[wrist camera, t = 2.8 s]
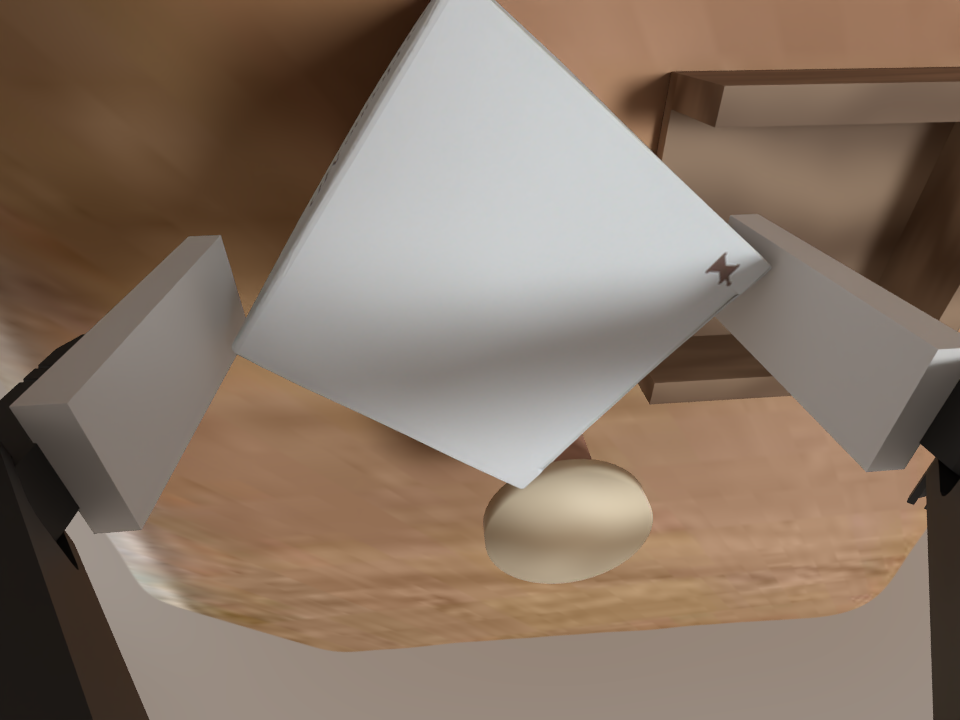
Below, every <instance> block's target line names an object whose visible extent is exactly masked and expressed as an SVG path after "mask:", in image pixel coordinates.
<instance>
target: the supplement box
mask: <svg viewBox="0 0 960 720" xmlns="http://www.w3.org/2000/svg"><path fill="white" fill-rule="evenodd" d="M771 269H772V266H771V265H770V264H769V263H768V262H767V260H766V259H765V258H764V257H763V256H762V255H760V254H759V253H758V252H757V251H756V250H755V249H754V248H753V247H752V246H751V245H750V244H749V243H748V242H746V241H745V240H744V239H743V238H742V237H741V236H740V235H739V234H738V233H737V232H736V231H735V230H734V229H733V228H731V227H730V226H729V225H728V224H727V223H726V222H725V221H724V220H723V219H722V218H721V217H720V216H719V215H718V214H717V213H716V212H714V211H713V210H712V209H711V208H710V207H709V206H708V205H707V204H706V203H705V202H704V201H703V200H702V199H701V198H700V197H699V196H698V195H697V194H696V193H695V192H694V191H693V190H691V189H690V188H689V187H688V186H687V185H686V184H685V183H684V182H683V181H682V180H681V179H680V178H679V177H678V176H677V175H676V174H675V173H674V172H673V171H672V170H671V169H670V168H669V167H668V166H667V165H666V164H665V163H664V162H663V161H661V160H660V159H659V158H658V157H657V156H656V155H655V154H654V153H653V152H652V151H651V150H650V149H649V148H648V147H647V146H646V145H645V144H644V143H643V142H642V141H641V140H640V139H639V138H638V137H637V136H636V135H635V134H634V133H633V132H632V131H631V130H630V129H629V128H628V127H627V126H626V125H625V124H624V123H623V122H622V121H621V120H620V119H619V118H618V117H617V116H616V115H615V114H614V113H613V112H612V111H611V110H610V109H609V108H608V107H607V106H606V105H605V104H604V103H603V102H602V101H601V100H599V99H598V98H597V97H596V96H595V95H594V94H593V93H592V92H591V91H590V90H589V89H588V88H587V87H586V86H585V85H584V84H583V83H582V82H581V81H580V80H579V79H578V78H577V77H576V76H575V75H574V74H573V73H572V72H571V71H570V70H569V69H568V68H567V67H566V66H565V65H564V64H563V63H562V62H561V61H560V60H559V59H558V58H556V57H555V56H554V55H553V54H552V53H551V52H550V51H549V50H548V49H547V48H546V47H545V46H544V45H542V44H541V43H540V42H539V41H538V40H537V39H536V38H535V37H534V36H533V35H532V34H531V33H530V32H529V31H527V30H526V29H525V28H524V27H523V26H522V25H521V24H520V23H519V22H518V21H517V20H516V19H515V18H513V17H512V16H511V15H510V14H509V13H508V12H507V11H506V10H505V9H504V8H503V7H502V6H501V5H500V4H498V3H497V2H496V1H495V0H431V1H430V2H429V4H428V5H427V7H426V8H425V10H424V11H423V13H422V14H421V16H420V17H419V19H418V20H417V21H416V23H415V24H414V26H413V27H412V29H411V30H410V32H409V34H408V35H407V37H406V38H405V40H404V42H403V43H402V45H401V46H400V48H399V49H398V51H397V52H396V54H395V56H394V57H393V59H392V61H391V62H390V64H389V66H388V67H387V69H386V70H385V72H384V74H383V75H382V77H381V79H380V80H379V82H378V84H377V85H376V87H375V89H374V90H373V92H372V94H371V95H370V97H369V99H368V100H367V102H366V104H365V105H364V107H363V109H362V110H361V112H360V114H359V116H358V117H357V119H356V121H355V123H354V124H353V126H352V128H351V130H350V131H349V133H348V135H347V136H346V138H345V140H344V142H343V143H342V145H341V147H340V149H339V150H338V152H337V154H336V156H335V157H334V159H333V161H332V162H331V164H330V166H329V168H328V169H327V171H326V173H325V175H324V176H323V178H322V180H321V182H320V184H319V185H318V187H317V189H316V191H315V192H314V194H313V196H312V198H311V200H310V201H309V203H308V205H307V207H306V208H305V210H304V212H303V214H302V216H301V217H300V219H299V221H298V223H297V225H296V226H295V228H294V230H293V232H292V234H291V236H290V238H289V239H288V241H287V243H286V245H285V247H284V249H283V250H282V252H281V254H280V256H279V258H278V260H277V262H276V263H275V265H274V267H273V269H272V271H271V273H270V275H269V276H268V278H267V280H266V282H265V284H264V286H263V288H262V289H261V291H260V293H259V295H258V297H257V299H256V301H255V302H254V304H253V306H252V308H251V310H250V312H249V314H248V315H247V317H246V319H245V321H244V323H243V325H242V326H241V328H240V330H239V332H238V334H237V336H236V337H235V339H234V341H233V343H232V351H233V352H234V353H235V354H237V355H239V356H241V357H243V358H245V359H247V360H249V361H251V362H253V363H255V364H257V365H259V366H260V367H262V368H265V369H267V370H269V371H271V372H273V373H275V374H277V375H279V376H281V377H283V378H285V379H287V380H289V381H291V382H293V383H295V384H297V385H299V386H302V387H304V388H306V389H308V390H310V391H312V392H315V393H317V394H319V395H321V396H323V397H326V398H328V399H330V400H332V401H334V402H336V403H339V404H341V405H343V406H345V407H347V408H350V409H352V410H354V411H356V412H358V413H360V414H362V415H365V416H367V417H369V418H371V419H373V420H375V421H377V422H379V423H381V424H384V425H386V426H388V427H390V428H392V429H394V430H396V431H398V432H400V433H403V434H405V435H407V436H409V437H411V438H413V439H415V440H417V441H419V442H421V443H423V444H425V445H428V446H430V447H432V448H434V449H436V450H438V451H440V452H442V453H444V454H446V455H448V456H450V457H452V458H454V459H457V460H459V461H461V462H463V463H465V464H467V465H470V466H472V467H474V468H476V469H478V470H480V471H483V472H485V473H487V474H489V475H491V476H493V477H496V478H498V479H500V480H502V481H504V482H506V483H509V484H511V485H513V486H515V487H517V488H519V489H524V488H525V487H526V486H527V485H529V484H530V483H531V482H532V481H533V480H534V479H535V478H536V477H537V476H538V475H540V473H541V472H542V471H543V470H544V469H545V468H546V467H547V466H548V465H549V464H550V463H551V462H553V461H554V460H555V459H556V458H557V457H558V456H559V455H560V454H561V453H562V452H563V451H564V450H565V449H566V448H568V447H569V446H570V445H571V444H572V443H573V442H574V441H575V440H576V439H577V438H578V437H579V436H580V435H581V434H582V433H583V432H584V431H585V430H587V429H588V428H589V427H590V426H591V425H592V424H593V423H594V422H595V421H597V420H598V419H599V418H600V417H601V416H602V415H603V414H604V413H605V412H607V411H608V410H609V409H610V408H611V407H612V406H613V405H614V404H615V403H616V402H618V401H619V400H620V399H621V398H622V397H623V396H624V395H625V394H626V393H627V392H629V391H630V390H631V389H632V388H633V387H634V386H635V385H636V384H637V383H639V382H640V381H641V380H642V379H643V378H644V377H645V376H646V375H647V374H649V373H650V372H651V371H652V370H653V369H654V368H655V367H656V366H658V365H659V364H660V363H661V362H662V361H663V360H664V359H666V358H667V357H668V356H669V355H670V354H671V353H673V352H674V351H675V350H676V349H677V348H678V347H680V346H681V345H682V344H683V343H684V342H685V341H687V340H688V339H689V338H690V337H691V336H692V335H694V334H695V333H696V332H697V331H698V330H699V329H701V328H702V327H703V326H704V325H705V324H706V323H708V322H709V321H710V320H711V319H712V318H713V317H715V316H716V315H717V314H718V313H719V312H720V311H722V310H723V309H724V308H725V307H726V306H727V305H729V304H730V303H731V302H732V301H734V300H735V299H736V298H737V297H738V296H740V295H741V294H742V293H743V292H745V291H746V290H747V289H748V288H750V287H751V286H752V285H753V284H755V283H756V282H757V281H758V280H760V279H761V278H762V277H763V276H765V275H766V274H767V273H768V272H769V271H770V270H771Z"/></svg>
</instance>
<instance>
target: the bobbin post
mask: <svg viewBox="0 0 960 720" xmlns="http://www.w3.org/2000/svg"><path fill="white" fill-rule="evenodd" d="M652 523H653V514H652V509H651V506H650V504H649V502H648V500H647V497H646V495H645V493H644V491H643V489H642V486H641V484H640V483H639V482H638V480H637V479H636V478H635V477H634V476H633V475H632V474H631V473H629V472H628V471H626V470H625V469H623V468H621V467H619V466H617V465H614V464H611V463H608V462H604V461H599V460H592V459H591V456H590V454H589V451H588V448H587V445H586V443H585V440H584V437H583V434H581V435H580V436H579V437H578V438H577V439H576V440H575V441H574V442H573V443H572V444H571V445H570V446H569V447H568V448H566V449H565V450H564V451H563V452H562V453H561V454H560V455H559V456H558V457H557V458H556V459H555V460H554V461H553V462H551V463H550V464H549V465H548V466H547V467H546V468H545V469H544V470H543V471H542V472H541V473H540V475H538V476H537V477H536V478H535V479H534V480H533V481H532V482H531V483H530V484H529V485H527V486H526V487H525V488H524V489H519V488H517V487H515V486H513V485H511V484H509V483H506V484H505V485H504V486H503V487H502V488H501V489H500V490H499V491H498V492H497V493H496V494H495V495H494V496H493V498H492V499H491V501H490V502H489V504H488V506H487V508H486V511H485V514H484V519H483V527H484V537H485V546H486V550H487V553H488V555H489V557H490V559H491V561H492V562H493V563H494V564H495V565H496V566H497V567H498V568H499V569H501V570H502V571H503V572H505V573H507V574H508V575H511V576H513V577H515V578H518V579H521V580H525V581H529V582H535V583H547V584H556V583H568V582H574V581H580V580H584V579H588V578H591V577H594V576H597V575H600V574H602V573H605V572H607V571H609V570H611V569H613V568H615V567H617V566H619V565H620V564H622V563H623V562H625V561H626V560H627V559H629V558H630V557H631V556H632V555H634V554H635V553H636V552H637V551H638V550H639V549H640V547H641V546H642V545H643V544H644V542H645V541H646V539H647V537H648V536H649V533H650V531H651V528H652Z"/></svg>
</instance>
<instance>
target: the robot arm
mask: <svg viewBox="0 0 960 720" xmlns="http://www.w3.org/2000/svg"><path fill="white" fill-rule="evenodd" d="M728 225H729V226H730V227H731V228H733V229H734V230H735V231H736V232H737V233H738V234H739V235H740V236H741V237H742V238H743V239H744V240H745V241H746V242H748V243H749V244H750V245H751V246H752V247H753V248H754V249H755V250H756V251H757V252H758V253H759V254H760V255H762V256H763V257H764V258H765V259H766V260H767V262H768V263H769V264H770V265H771V266H772V269H771V270H770V271H769V272H768V273H767V274H766V275H765V276H763V277H762V278H761V279H760V280H758V281H757V282H756V283H755V284H753V285H752V286H751V287H750V288H748V289H747V290H746V291H745V292H743V293H742V294H741V295H740V296H738V297H737V298H736V299H735V300H734V301H732V302H731V303H730V304H729V305H727V306H726V307H725V308H724V309H723V310H722V311H720V312H719V313H718V314H717V315H716V316H715V317H716V318H717V319H718V320H719V321H720V322H721V323H722V324H723V325H724V326H725V327H726V328H727V329H728V331H729V332H730V333H731V334H732V335H733V336H734V337H735V338H736V339H737V340H738V341H739V342H740V343H741V344H742V345H743V346H744V347H745V348H746V349H747V350H748V351H749V352H750V353H751V354H752V355H753V356H754V357H755V358H756V359H757V360H758V361H759V362H760V363H761V364H762V365H763V366H764V367H765V368H766V370H767V371H768V372H769V373H770V374H771V375H772V376H773V377H774V378H775V379H776V380H777V381H778V382H779V383H780V384H781V385H782V386H783V387H784V388H785V389H786V390H787V391H788V392H789V393H790V394H791V395H792V396H793V397H794V398H795V399H796V400H797V401H798V402H799V403H800V404H801V405H802V406H803V407H804V409H805V410H806V411H807V412H808V413H809V414H810V415H811V416H812V417H813V418H814V419H815V420H816V421H817V422H818V423H819V424H820V425H821V426H822V427H823V428H824V429H825V430H826V431H827V432H828V433H829V434H830V435H831V436H832V437H833V438H834V439H835V440H836V441H837V442H838V443H839V444H840V445H841V446H842V447H843V449H844V450H845V451H846V452H847V453H848V454H849V455H850V456H851V457H852V458H853V459H854V460H855V461H856V462H857V463H858V464H859V465H860V466H861V467H862V468H863V469H864V470H865V471H866V472H873V471H886V470H898V469H905V467H906V466H907V464H908V462H909V461H910V459H911V458H912V456H913V455H914V453H915V452H916V450H917V448H918V447H919V445H920V444H921V445H922V446H924V447H925V448H926V449H927V450H928V451H929V452H931V453H932V454H933V455H934V456H935V459H934V460H933V462H932V463H931V465H930V466H929V468H928V469H927V471H926V472H925V473H924V475H923V476H922V478H921V479H920V481H919V482H918V484H917V485H916V487H915V488H914V490H913V491H912V493H911V494H910V496H909V498H908V500H907V503H910V504H913V505H914V504H915V502H916V501H917V499H918V498H921V497H925V496H926V499H927V505H926V506H925V508H924V509H926V510H927V531H928V563H929V591H930V592H929V595H930V626H931V658H932V690H933V720H960V333H959V332H957V331H955V330H954V329H952V328H950V327H948V326H947V325H945V324H943V323H942V322H940V321H938V320H937V319H935V318H933V317H932V316H930V315H928V314H926V313H925V312H923V311H921V310H920V309H918V308H916V307H915V306H913V305H911V304H910V303H908V302H906V301H904V300H903V299H901V298H899V297H898V296H896V295H894V294H893V293H891V292H889V291H887V290H886V289H884V288H882V287H881V286H879V285H877V284H876V283H874V282H872V281H871V280H869V279H867V278H865V277H864V276H862V275H860V274H859V273H857V272H855V271H854V270H852V269H850V268H848V267H847V266H845V265H843V264H842V263H840V262H838V261H837V260H835V259H833V258H832V257H830V256H828V255H826V254H825V253H823V252H821V251H820V250H818V249H816V248H815V247H813V246H811V245H810V244H808V243H806V242H804V241H803V240H801V239H799V238H798V237H796V236H794V235H793V234H791V233H789V232H787V231H786V230H784V229H782V228H781V227H779V226H777V225H776V224H774V223H772V222H771V221H769V220H767V219H765V218H764V217H762V216H760V215H759V214H745V215H730V218H729V222H728ZM245 319H246V317H245V314H244V311H243V307H242V304H241V301H240V297H239V294H238V291H237V287H236V284H235V281H234V277H233V274H232V271H231V267H230V264H229V261H228V257H227V254H226V251H225V247H224V244H223V241H222V238H221V235H211V236H188V237H187V238H186V239H185V240H184V241H183V242H182V243H181V244H180V245H179V246H178V247H177V248H176V249H175V250H174V251H173V252H172V253H171V254H169V255H168V256H167V257H166V258H165V259H164V260H163V261H162V262H161V263H160V264H159V265H158V266H157V267H156V268H155V269H154V270H153V271H152V272H151V273H149V274H148V275H147V276H146V277H145V278H144V279H143V280H142V281H141V282H140V283H139V284H138V285H137V286H136V287H135V288H134V289H133V290H132V291H130V292H129V293H128V294H127V295H126V296H125V297H124V298H123V299H122V300H121V301H120V302H119V303H118V304H117V305H116V306H115V307H114V308H113V309H111V310H110V311H109V312H108V313H107V314H106V315H105V316H104V317H103V318H102V319H101V320H100V321H99V322H98V323H97V324H96V325H95V326H94V327H93V328H91V329H90V330H89V331H88V332H87V333H86V334H83V335H81V336H79V337H77V338H75V339H73V340H72V341H70V342H68V343H66V344H64V345H63V346H61V347H59V348H57V349H56V350H55V351H53V352H52V353H51V354H50V355H49V356H48V357H47V358H46V359H45V360H44V361H42V362H41V363H40V364H39V365H38V366H39V368H38V369H34V370H33V371H32V372H30V373H29V374H28V375H27V376H26V377H25V378H24V379H23V380H24V382H20V383H18V384H17V385H16V386H15V387H14V388H13V389H12V390H11V391H10V392H9V393H7V394H6V395H5V396H4V397H3V398H2V399H1V400H0V720H149V718H148V716H147V713H146V711H145V709H144V707H143V704H142V702H141V699H140V697H139V694H138V692H137V690H136V688H135V685H134V683H133V681H132V678H131V676H130V673H129V671H128V669H127V666H126V664H125V662H124V659H123V657H122V655H121V652H120V650H119V648H118V645H117V643H116V641H115V638H114V636H113V633H112V631H111V629H110V626H109V624H108V622H107V619H106V617H105V615H104V613H103V610H102V608H101V605H100V603H99V601H98V598H97V596H96V594H95V591H94V589H93V587H92V584H91V582H90V580H89V577H88V575H87V573H86V570H85V568H84V565H83V563H82V561H81V558H80V556H79V554H78V551H77V549H76V547H75V544H74V543H73V541H72V540H71V539H70V537H69V536H68V534H67V533H66V531H65V529H66V527H67V526H68V525H69V523H70V522H71V520H72V519H73V517H74V516H75V514H76V513H77V511H79V512H80V513H81V515H82V516H83V518H84V519H85V521H86V522H87V524H88V525H89V527H90V528H91V530H92V531H93V532H94V534H97V533H110V532H122V531H135V530H142V528H143V526H144V524H145V522H146V521H147V519H148V517H149V515H150V513H151V511H152V510H153V508H154V506H155V504H156V502H157V500H158V499H159V497H160V495H161V493H162V491H163V489H164V488H165V486H166V484H167V482H168V480H169V478H170V477H171V475H172V473H173V471H174V469H175V467H176V466H177V464H178V462H179V460H180V458H181V456H182V455H183V453H184V451H185V449H186V447H187V445H188V444H189V442H190V440H191V438H192V436H193V434H194V432H195V431H196V429H197V427H198V425H199V423H200V421H201V420H202V418H203V416H204V414H205V412H206V410H207V409H208V407H209V405H210V403H211V401H212V399H213V398H214V396H215V394H216V392H217V390H218V388H219V387H220V385H221V383H222V381H223V379H224V377H225V376H226V374H227V372H228V370H229V368H230V366H231V365H232V363H233V361H234V359H235V357H236V355H237V354H235V353H234V352H233V351H232V343H233V341H234V339H235V337H236V336H237V334H238V332H239V330H240V328H241V326H242V325H243V323H244V321H245Z"/></svg>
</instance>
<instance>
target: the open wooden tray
mask: <svg viewBox="0 0 960 720" xmlns="http://www.w3.org/2000/svg"><path fill="white" fill-rule="evenodd" d="M656 156H657V157H658V158H659V159H660V160H661V161H663V162H664V163H665V164H666V165H667V166H668V167H669V168H670V169H671V170H672V171H673V172H674V173H675V174H676V175H677V176H678V177H679V178H680V179H681V180H682V181H683V182H684V183H685V184H686V185H687V186H688V187H689V188H690V189H691V190H693V191H694V192H695V193H696V194H697V195H698V196H699V197H700V198H701V199H702V200H703V201H704V202H705V203H706V204H707V205H708V206H709V207H710V208H711V209H712V210H713V211H714V212H716V213H717V214H718V215H719V216H720V217H721V218H722V219H723V220H724V221H725V222H726V223H727V224H728V222H729V218H730V215H745V214H759V215H760V216H762V217H764V218H765V219H767V220H769V221H771V222H772V223H774V224H776V225H777V226H779V227H781V228H782V229H784V230H786V231H787V232H789V233H791V234H793V235H794V236H796V237H798V238H799V239H801V240H803V241H804V242H806V243H808V244H810V245H811V246H813V247H815V248H816V249H818V250H820V251H821V252H823V253H825V254H826V255H828V256H830V257H832V258H833V259H835V260H837V261H838V262H840V263H842V264H843V265H845V266H847V267H848V268H850V269H852V270H854V271H855V272H857V273H859V274H860V275H862V276H864V277H865V278H867V279H869V280H871V281H872V282H874V283H876V284H877V285H879V286H881V287H882V288H884V289H886V290H887V291H889V292H891V293H893V294H894V295H896V296H898V297H899V298H901V299H903V300H904V301H906V302H908V303H910V304H911V305H913V306H915V307H916V308H918V309H920V310H921V311H923V312H925V313H926V314H928V315H930V316H932V317H933V318H935V319H937V320H938V321H940V322H942V323H943V324H945V325H947V326H948V327H950V328H952V329H954V330H955V331H957V332H958V330H959V329H960V67H926V68H865V69H804V70H744V71H683V72H671V77H670V82H669V88H668V93H667V99H666V104H665V110H664V115H663V121H662V127H661V132H660V138H659V143H658V149H657V154H656ZM638 384H639V386H640V388H641V390H642V391H643V393H644V395H645V397H646V399H647V400H648V402H649V404H663V403H679V402H696V401H712V400H729V399H745V398H762V397H778V396H792V395H791V394H790V393H789V392H788V391H787V390H786V389H785V388H784V387H783V386H782V385H781V384H780V383H779V382H778V381H777V380H776V379H775V378H774V377H773V376H772V375H771V374H770V373H769V372H768V371H767V370H766V368H765V367H764V366H763V365H762V364H761V363H760V362H759V361H758V360H757V359H756V358H755V357H754V356H753V355H752V354H751V353H750V352H749V351H748V350H747V349H746V348H745V347H744V346H743V345H742V344H741V343H740V342H739V341H738V340H737V339H736V338H735V337H734V336H733V335H732V334H731V333H730V332H729V331H728V329H727V328H726V327H725V326H724V325H723V324H722V323H721V322H720V321H719V320H718V319H717V318H716V317H713V318H712V319H711V320H710V321H709V322H708V323H706V324H705V325H704V326H703V327H702V328H701V329H699V330H698V331H697V332H696V333H695V334H694V335H692V336H691V337H690V338H689V339H688V340H687V341H685V342H684V343H683V344H682V345H681V346H680V347H678V348H677V349H676V350H675V351H674V352H673V353H671V354H670V355H669V356H668V357H667V358H666V359H664V360H663V361H662V362H661V363H660V364H659V365H658V366H656V367H655V368H654V369H653V370H652V371H651V372H650V373H649V374H647V375H646V376H645V377H644V378H643V379H642V380H641V381H640V382H639V383H638Z"/></svg>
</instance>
